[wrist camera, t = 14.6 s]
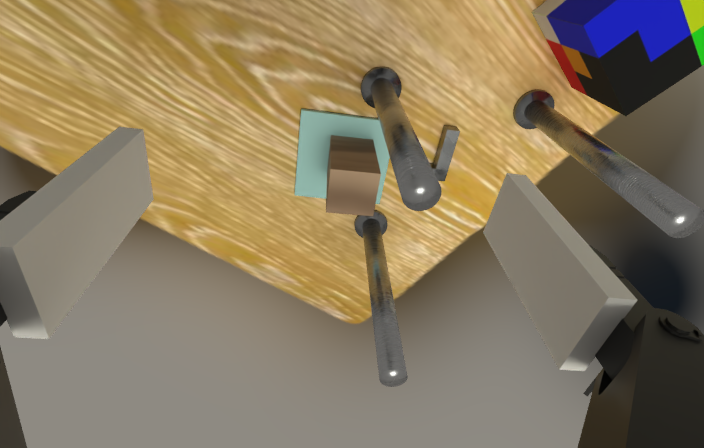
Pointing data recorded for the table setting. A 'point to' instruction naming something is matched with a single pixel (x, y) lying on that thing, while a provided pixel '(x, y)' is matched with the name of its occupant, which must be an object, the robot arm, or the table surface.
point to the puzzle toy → (624, 46)
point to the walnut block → (352, 176)
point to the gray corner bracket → (445, 152)
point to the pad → (317, 143)
